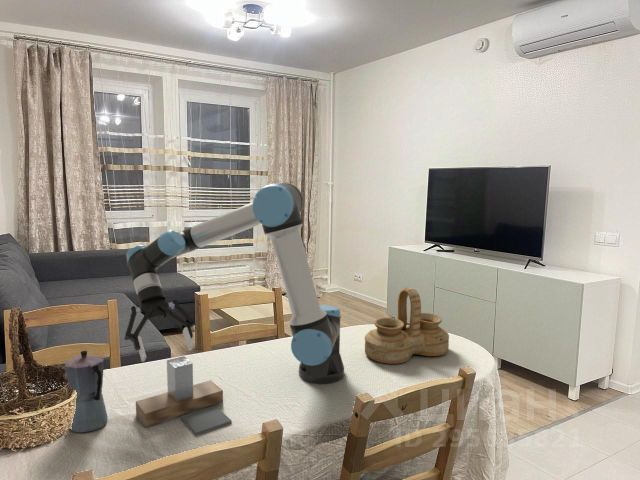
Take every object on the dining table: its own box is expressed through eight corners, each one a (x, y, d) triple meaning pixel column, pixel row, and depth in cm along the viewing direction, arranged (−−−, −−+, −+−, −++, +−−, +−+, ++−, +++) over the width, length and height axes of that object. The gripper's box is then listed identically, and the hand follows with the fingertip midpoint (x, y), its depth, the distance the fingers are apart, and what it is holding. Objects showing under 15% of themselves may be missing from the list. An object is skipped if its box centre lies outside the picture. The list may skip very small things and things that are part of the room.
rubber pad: (215, 407, 132) (215, 405, 132) (231, 423, 124) (231, 420, 124) (180, 418, 126) (180, 416, 126) (196, 435, 118) (196, 432, 118)
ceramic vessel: (382, 370, 159) (385, 300, 155) (355, 351, 176) (357, 287, 172) (459, 355, 174) (463, 290, 170) (427, 338, 190) (431, 279, 187)
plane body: (211, 392, 141) (210, 380, 140) (223, 403, 135) (222, 390, 134) (136, 415, 127) (135, 401, 127) (145, 428, 121) (145, 413, 121)
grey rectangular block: (167, 394, 131) (166, 360, 130) (184, 389, 134) (184, 356, 133) (175, 402, 127) (174, 367, 125) (193, 397, 130) (192, 363, 128)
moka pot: (92, 408, 130) (89, 340, 127) (124, 426, 122) (120, 354, 119) (57, 422, 123) (52, 350, 120) (88, 443, 114) (83, 366, 111)
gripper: (185, 292, 153) (205, 350, 144) (104, 304, 138) (120, 370, 128) (191, 279, 148) (212, 338, 139) (107, 290, 133) (125, 358, 123)
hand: (168, 354), depth 133 cm, fingers open, 13 cm apart
